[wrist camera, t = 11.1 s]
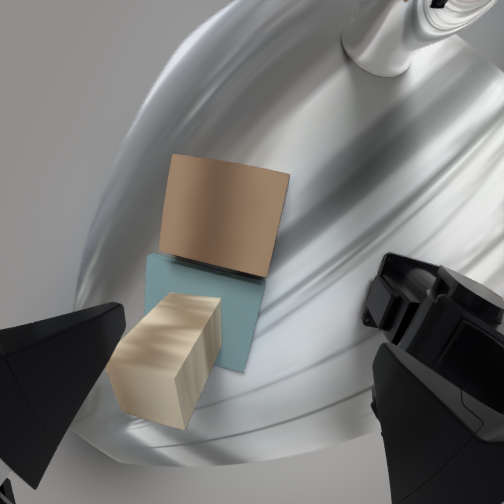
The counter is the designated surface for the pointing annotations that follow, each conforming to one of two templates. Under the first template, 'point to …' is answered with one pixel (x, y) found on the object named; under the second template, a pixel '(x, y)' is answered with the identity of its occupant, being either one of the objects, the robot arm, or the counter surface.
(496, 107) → the counter surface
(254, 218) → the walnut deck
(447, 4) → the beer glass
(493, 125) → the counter surface
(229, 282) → the teal mat
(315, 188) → the counter surface
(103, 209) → the counter surface
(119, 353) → the maple block
